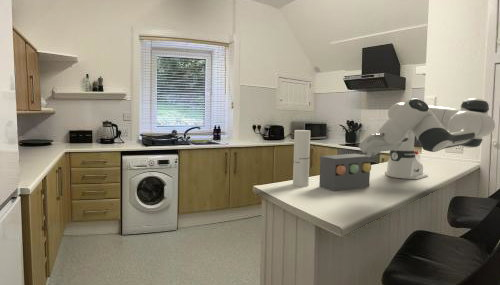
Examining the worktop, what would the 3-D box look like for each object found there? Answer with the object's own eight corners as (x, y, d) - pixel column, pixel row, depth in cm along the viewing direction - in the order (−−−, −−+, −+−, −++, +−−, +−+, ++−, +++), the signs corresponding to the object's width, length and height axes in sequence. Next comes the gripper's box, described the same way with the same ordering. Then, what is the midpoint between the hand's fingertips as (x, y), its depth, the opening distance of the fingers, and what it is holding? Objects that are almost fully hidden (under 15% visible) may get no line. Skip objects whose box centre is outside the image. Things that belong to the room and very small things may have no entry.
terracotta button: (340, 173, 147) (340, 164, 147) (345, 174, 145) (345, 165, 144) (333, 174, 145) (333, 165, 145) (338, 175, 143) (339, 166, 142)
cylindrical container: (308, 187, 151) (310, 131, 149) (292, 186, 153) (293, 130, 150) (308, 183, 158) (310, 130, 156) (293, 182, 160) (295, 129, 157)
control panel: (354, 182, 163) (355, 153, 162) (369, 186, 155) (370, 155, 154) (319, 187, 152) (320, 156, 151) (333, 191, 144) (335, 158, 143)
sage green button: (353, 172, 152) (353, 163, 151) (358, 173, 149) (359, 164, 148) (346, 172, 149) (347, 163, 149) (352, 174, 147) (352, 164, 146)
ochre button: (365, 170, 156) (365, 162, 155) (371, 171, 153) (371, 163, 152) (359, 171, 154) (359, 162, 153) (364, 172, 151) (365, 163, 150)
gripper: (377, 140, 124) (356, 163, 133) (412, 138, 134) (390, 160, 144) (368, 128, 127) (348, 151, 137) (402, 126, 138) (381, 148, 147)
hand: (369, 155), depth 140 cm, fingers closed
